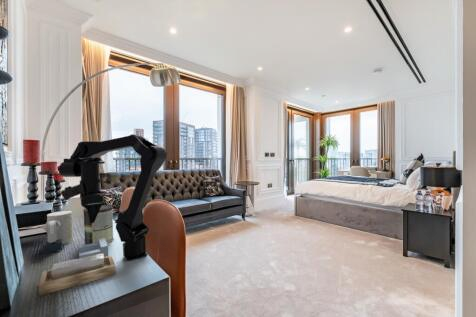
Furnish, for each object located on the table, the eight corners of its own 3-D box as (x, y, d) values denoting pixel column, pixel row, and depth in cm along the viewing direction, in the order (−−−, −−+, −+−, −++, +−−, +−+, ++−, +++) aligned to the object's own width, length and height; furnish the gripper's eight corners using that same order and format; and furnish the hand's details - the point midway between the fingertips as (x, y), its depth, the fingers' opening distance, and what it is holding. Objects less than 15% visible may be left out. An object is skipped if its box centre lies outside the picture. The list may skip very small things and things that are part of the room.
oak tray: (111, 263, 74) (111, 255, 74) (115, 274, 67) (115, 265, 67) (43, 280, 64) (42, 271, 64) (39, 296, 57) (38, 285, 57)
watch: (62, 245, 91) (61, 217, 91) (62, 251, 85) (61, 222, 85) (43, 249, 88) (43, 220, 88) (42, 255, 81) (41, 225, 81)
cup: (69, 244, 92) (68, 214, 92) (44, 247, 90) (43, 216, 89) (75, 237, 100) (74, 210, 100) (52, 240, 97) (51, 212, 97)
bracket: (105, 249, 86) (104, 237, 86) (108, 258, 77) (107, 245, 77) (79, 255, 81) (78, 242, 81) (79, 266, 73) (79, 251, 73)
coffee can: (78, 247, 89) (77, 211, 89) (93, 238, 99) (92, 205, 99) (106, 245, 89) (105, 209, 89) (118, 236, 100) (117, 204, 100)
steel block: (103, 266, 71) (103, 253, 71) (104, 271, 67) (103, 257, 67) (54, 278, 64) (53, 263, 64) (51, 284, 61) (51, 269, 61)
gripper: (63, 176, 85) (64, 218, 85) (60, 180, 70) (62, 231, 70) (98, 174, 92) (99, 213, 92) (102, 177, 77) (104, 224, 77)
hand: (91, 220), depth 83 cm, fingers open, 9 cm apart
